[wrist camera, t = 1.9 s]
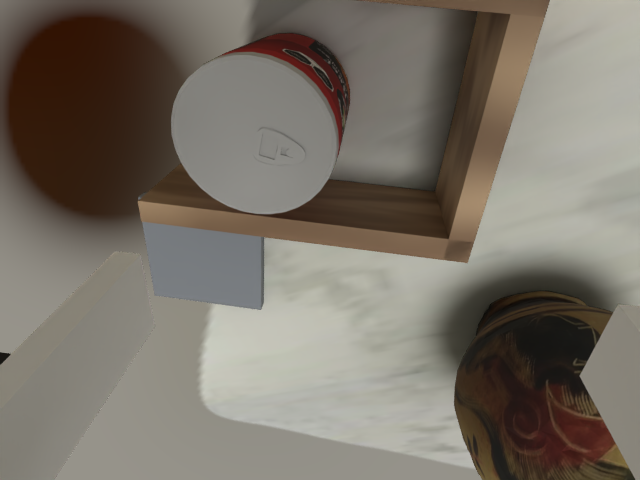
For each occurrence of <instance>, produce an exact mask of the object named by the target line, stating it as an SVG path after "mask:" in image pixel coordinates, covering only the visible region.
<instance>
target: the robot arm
mask: <svg viewBox="0 0 640 480" xmlns="http://www.w3.org/2000/svg"><path fill="white" fill-rule="evenodd" d="M154 327H155V322H154V318H153V312H152V308H151V303H150V298H149V293H148V288H147V283H146V278H145V273H144V268H143V263H142V258H141V254H136V253H126V252H116V251H115V252H114V253H113V254H112V255H111V256H110V257H109V258H108V259H107V260H106V261H105V262H104V263H103V264H102V265H101V266H100V267H99V268H98V269H97V270H96V271H95V272H94V273H93V274H92V275H91V276H90V277H89V278H88V279H87V280H86V281H85V282H84V283H83V284H82V285H81V286H79V287H78V289H76V290H75V292H73V294H72V295H70V296H69V298H67V299H66V300H65V301H64V303H62V304H61V306H59V308H58V309H56V310H55V311H54V312H53V313H52V314H51V315H50V316H49V317H48V318H47V319H46V320H45V321H44V322H43V323H42V324H41V325H40V326H39V327H38V328H37V329H36V330H35V331H34V332H33V333H32V334H31V335H30V336H29V337H28V338H27V339H26V340H25V341H24V342H23V343H22V344H21V345H20V346H19V347H18V348H17V349H16V350H15V351H14V352H13V353H12V354H9V353H1V352H0V480H54V479H55V478H56V476H57V475H58V473H59V472H60V470H61V469H62V467H63V466H64V464H65V463H66V461H67V460H68V458H69V457H70V455H71V454H72V452H73V450H74V449H75V447H76V446H77V444H78V443H79V441H80V440H81V438H82V437H83V435H84V434H85V432H86V431H87V429H88V428H89V426H90V425H91V423H92V421H93V420H94V418H95V417H96V416H97V414H98V413H99V411H100V409H101V408H102V406H103V405H104V403H105V402H106V400H107V399H108V397H109V396H110V394H111V393H112V391H113V390H114V388H115V387H116V385H117V384H118V382H119V381H120V379H121V377H122V376H123V375H124V373H125V371H126V370H127V368H128V367H129V365H130V364H131V362H132V361H133V359H134V358H135V356H136V355H137V353H138V352H139V350H140V349H141V347H142V346H143V344H144V343H145V341H146V339H147V338H148V337H149V335H150V334H151V332H152V331H153V329H154ZM580 378H581V380H582V382H583V383H584V385H585V387H586V389H587V391H588V393H589V394H590V396H591V398H592V400H593V402H594V404H595V406H596V407H597V409H598V411H599V413H600V415H601V417H602V419H603V420H604V422H605V424H606V426H607V428H608V430H609V432H610V433H611V435H612V437H613V439H614V441H615V443H616V445H617V446H618V448H619V450H620V452H621V454H622V456H623V457H624V459H625V461H626V463H627V465H628V467H629V469H630V470H631V472H632V474H633V476H634V478H635V480H640V306H631V305H622V304H618V305H617V307H616V309H615V311H614V312H613V314H612V316H611V318H610V320H609V322H608V324H607V326H606V327H605V329H604V331H603V333H602V335H601V337H600V339H599V341H598V342H597V344H596V346H595V348H594V350H593V352H592V354H591V356H590V357H589V359H588V361H587V363H586V365H585V367H584V369H583V371H582V372H581V374H580Z"/></svg>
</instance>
